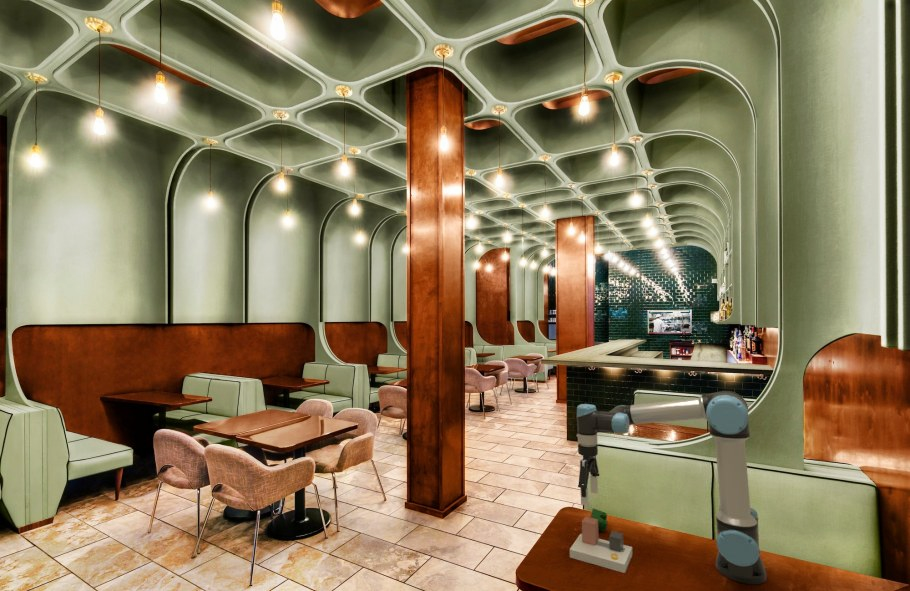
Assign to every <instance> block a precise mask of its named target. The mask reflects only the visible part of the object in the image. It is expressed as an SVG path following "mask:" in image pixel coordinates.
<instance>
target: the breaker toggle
mask: <svg viewBox="0 0 910 591" xmlns="http://www.w3.org/2000/svg"><path fill="white" fill-rule="evenodd" d="M608 541H609V549H612V550H615V551H619V552H621V550H622V548H623V545H624V533H623V532H618V531H614V530H611V533H610V534H609V536H608Z"/></svg>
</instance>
